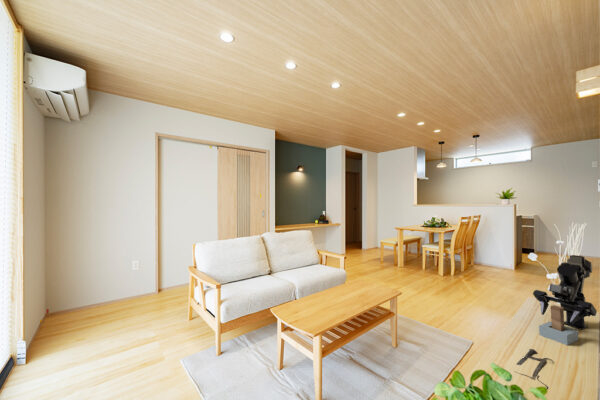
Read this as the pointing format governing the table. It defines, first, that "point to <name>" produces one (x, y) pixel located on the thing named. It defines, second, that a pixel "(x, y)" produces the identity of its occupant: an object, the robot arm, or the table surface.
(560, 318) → the tan rectangular block
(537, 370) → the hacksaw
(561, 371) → the table surface
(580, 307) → the robot arm
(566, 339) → the holder
